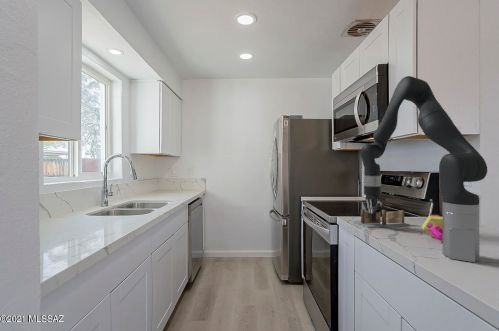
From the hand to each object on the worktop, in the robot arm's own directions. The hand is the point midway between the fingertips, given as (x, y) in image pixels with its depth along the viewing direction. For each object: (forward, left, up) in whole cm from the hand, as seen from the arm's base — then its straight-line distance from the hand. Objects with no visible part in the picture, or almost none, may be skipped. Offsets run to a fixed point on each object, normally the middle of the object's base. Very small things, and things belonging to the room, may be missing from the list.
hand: (372, 221), depth 126 cm
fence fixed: (+9, -8, -3) cm, 13 cm away
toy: (-8, -26, -3) cm, 27 cm away
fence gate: (+3, +1, -2) cm, 4 cm away
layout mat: (+8, -3, -3) cm, 9 cm away
